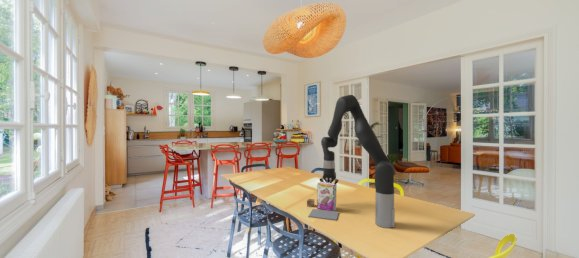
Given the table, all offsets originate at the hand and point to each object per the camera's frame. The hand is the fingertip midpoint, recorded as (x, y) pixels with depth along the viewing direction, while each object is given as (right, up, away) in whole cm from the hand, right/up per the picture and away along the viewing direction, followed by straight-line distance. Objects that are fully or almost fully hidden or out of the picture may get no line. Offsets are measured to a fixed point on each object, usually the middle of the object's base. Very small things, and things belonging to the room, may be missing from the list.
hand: (329, 193), depth 157 cm
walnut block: (-12, -8, -1) cm, 15 cm away
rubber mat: (-6, -8, -17) cm, 20 cm away
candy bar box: (-3, -8, -8) cm, 12 cm away
